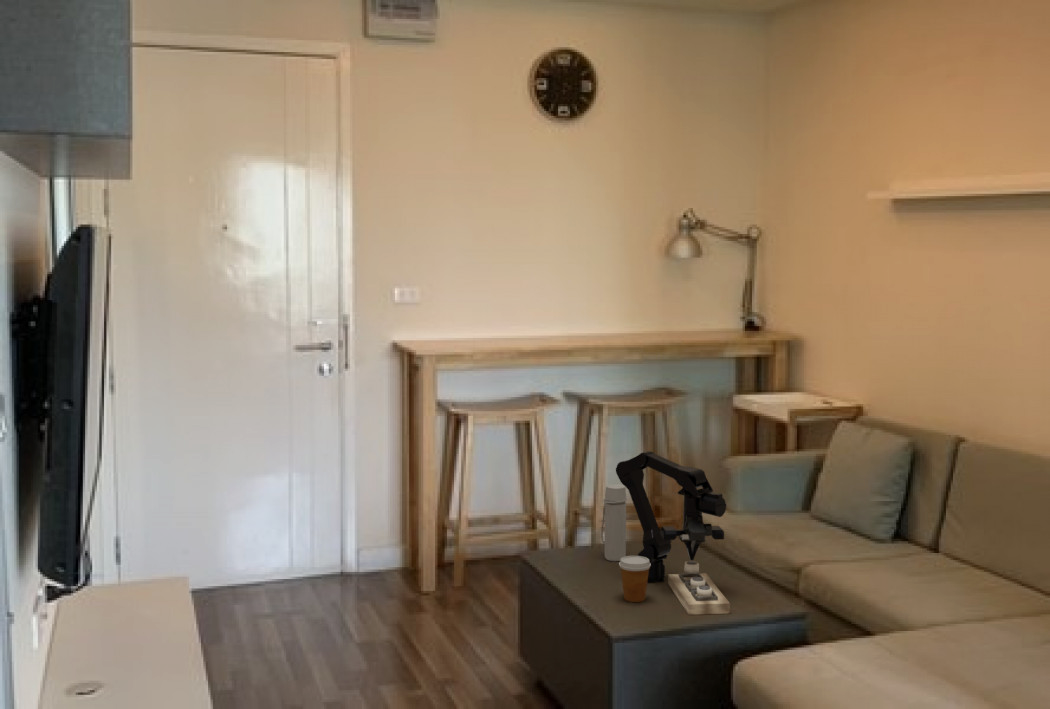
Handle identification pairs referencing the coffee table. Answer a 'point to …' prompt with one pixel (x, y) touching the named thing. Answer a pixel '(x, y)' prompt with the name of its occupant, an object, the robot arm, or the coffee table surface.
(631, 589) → the disposable coffee cup
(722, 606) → the knob console
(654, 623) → the coffee table surface
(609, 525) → the water bottle
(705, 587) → the front knob
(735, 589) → the coffee table surface
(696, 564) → the back knob
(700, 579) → the middle knob
